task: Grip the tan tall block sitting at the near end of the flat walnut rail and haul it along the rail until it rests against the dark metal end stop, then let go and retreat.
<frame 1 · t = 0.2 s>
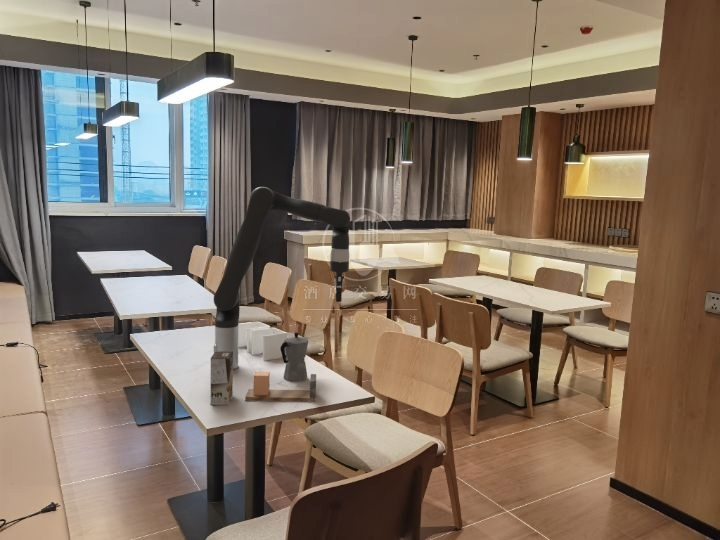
hand: (338, 299, 232), 29 cm above the table, tool pointing down, fingers open, 8 cm apart
coffeepot: (293, 379, 223), on the table
tan tall block: (261, 383, 202), point 5 cm above the table, slide at 0.0 cm
rail: (281, 396, 203), on the table
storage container: (260, 352, 258), on the table
coffee box: (221, 400, 198), on the table
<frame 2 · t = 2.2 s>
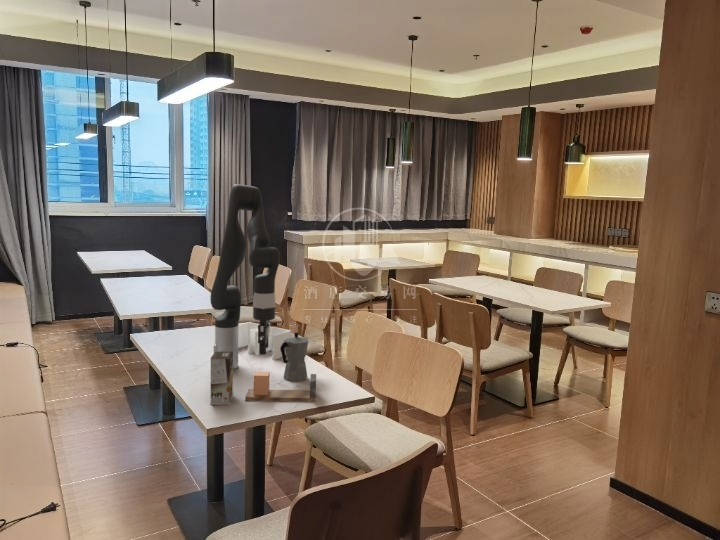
hand: (263, 350, 201), 16 cm above the table, tool pointing down, fingers open, 8 cm apart
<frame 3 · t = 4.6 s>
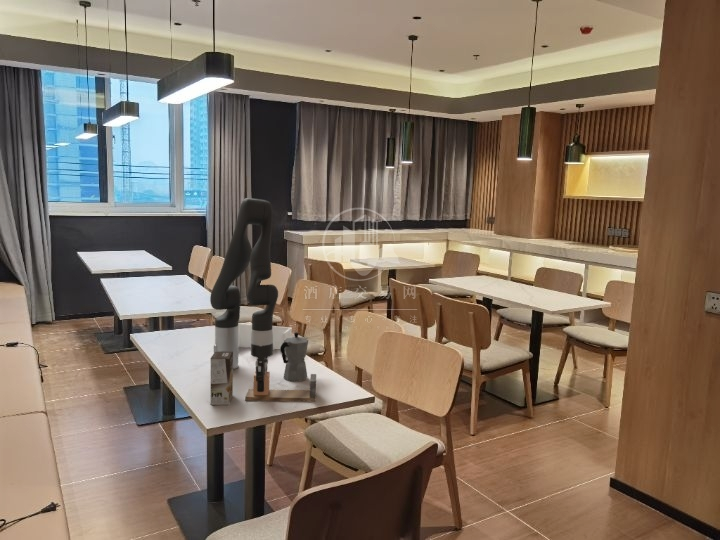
hand: (261, 388, 202), 3 cm above the table, tool pointing down, fingers closed on tan tall block, 4 cm apart
tan tall block: (261, 383, 202), point 5 cm above the table, slide at 0.0 cm, touching gripper
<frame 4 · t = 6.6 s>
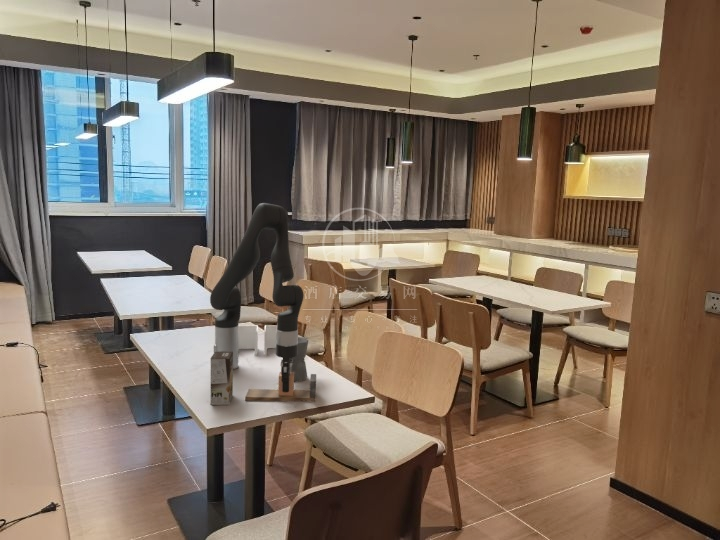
hand: (286, 389, 203), 3 cm above the table, tool pointing down, fingers closed on tan tall block, 4 cm apart
tan tall block: (286, 383, 202), point 5 cm above the table, slide at 8.6 cm, touching gripper
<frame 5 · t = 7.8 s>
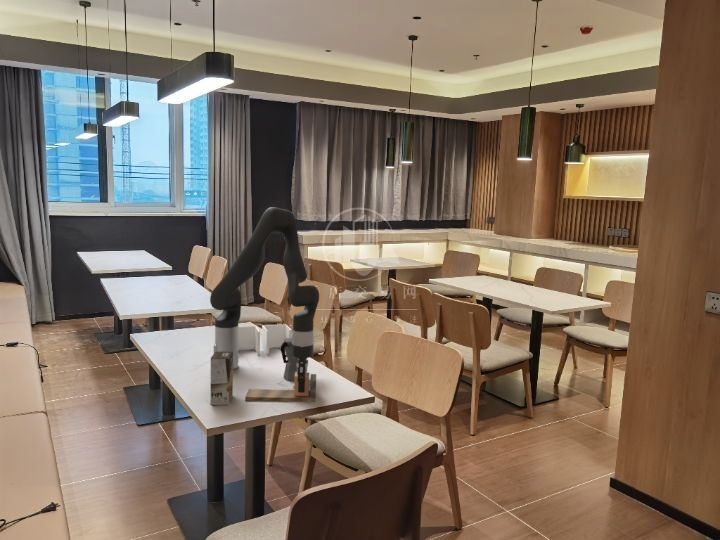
hand: (301, 389, 203), 3 cm above the table, tool pointing down, fingers closed on tan tall block, 4 cm apart
tan tall block: (301, 384, 203), point 5 cm above the table, slide at 14.1 cm, touching gripper
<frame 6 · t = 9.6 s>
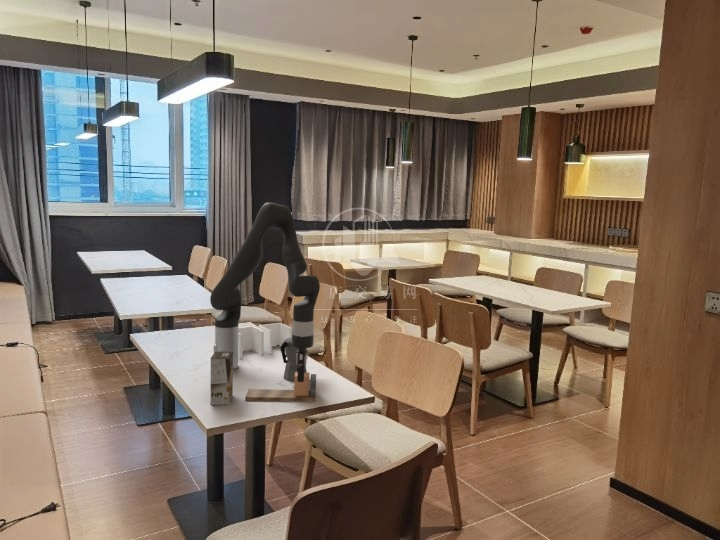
hand: (301, 377, 202), 7 cm above the table, tool pointing down, fingers open, 8 cm apart
tan tall block: (301, 384, 203), point 5 cm above the table, slide at 14.1 cm
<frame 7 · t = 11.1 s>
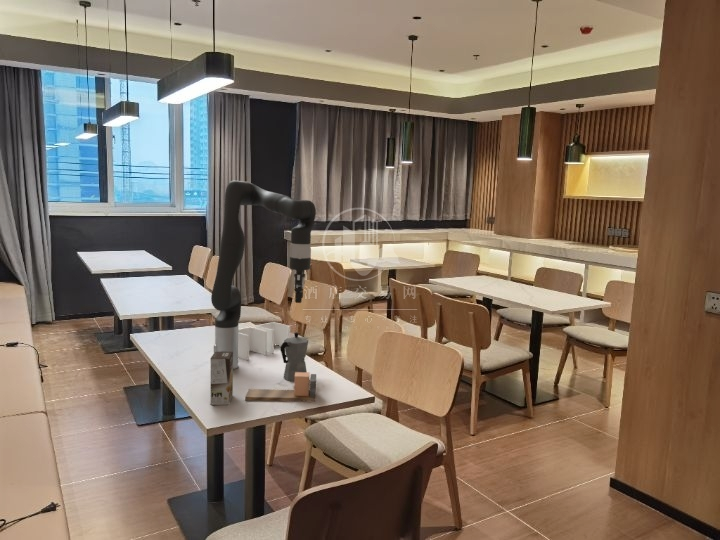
hand: (299, 300, 209), 33 cm above the table, tool pointing down, fingers open, 8 cm apart
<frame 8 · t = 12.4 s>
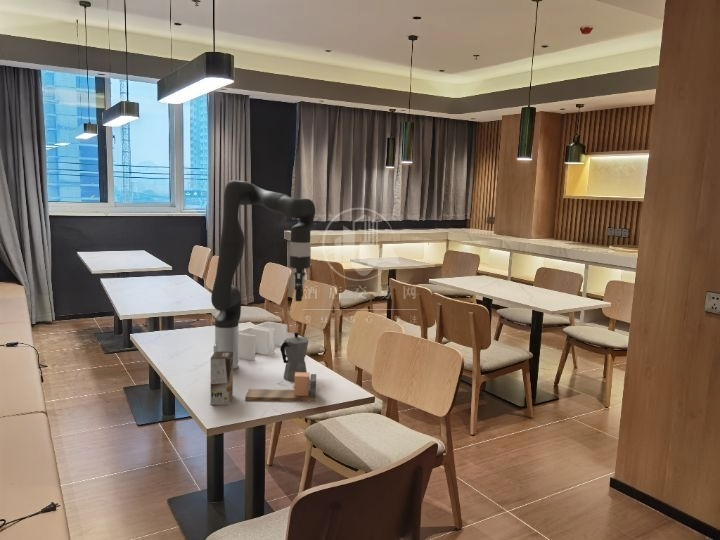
hand: (299, 298, 210), 33 cm above the table, tool pointing down, fingers open, 8 cm apart
at the end: tan tall block slide at 14.1 cm; the gripper is holding nothing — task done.
